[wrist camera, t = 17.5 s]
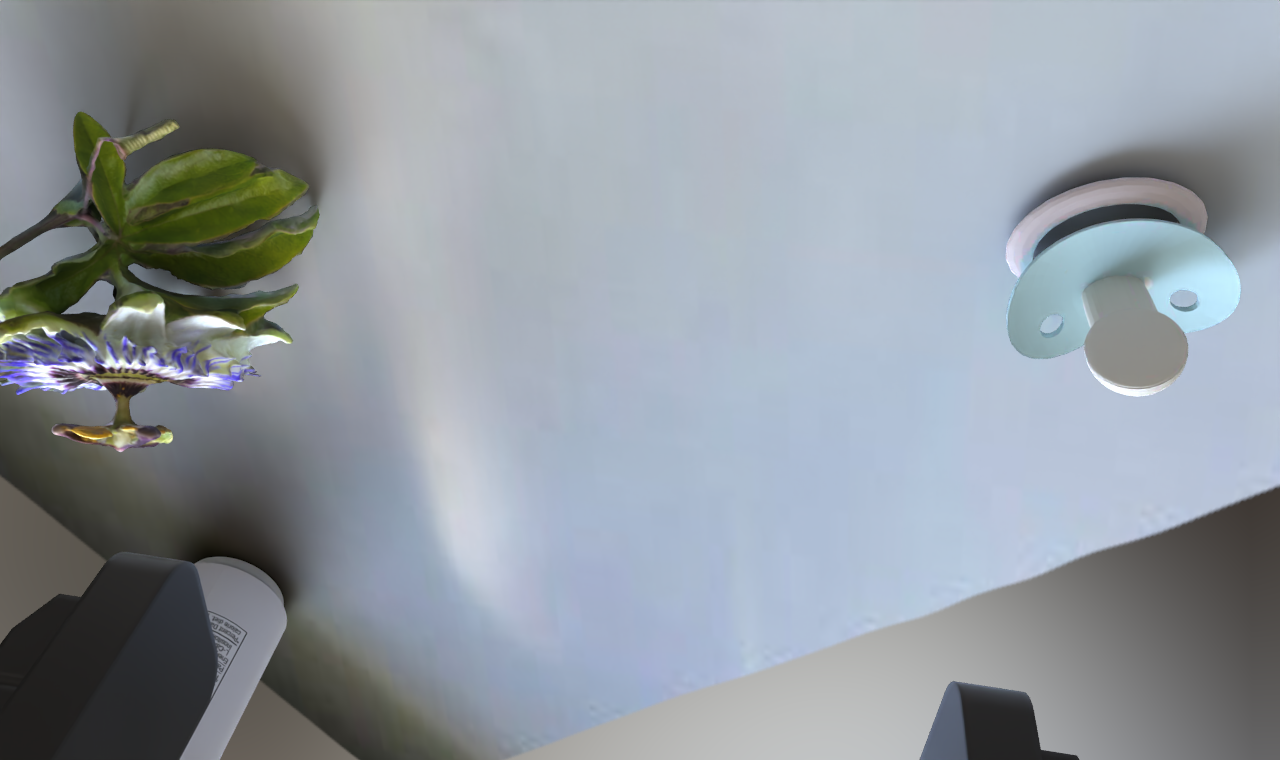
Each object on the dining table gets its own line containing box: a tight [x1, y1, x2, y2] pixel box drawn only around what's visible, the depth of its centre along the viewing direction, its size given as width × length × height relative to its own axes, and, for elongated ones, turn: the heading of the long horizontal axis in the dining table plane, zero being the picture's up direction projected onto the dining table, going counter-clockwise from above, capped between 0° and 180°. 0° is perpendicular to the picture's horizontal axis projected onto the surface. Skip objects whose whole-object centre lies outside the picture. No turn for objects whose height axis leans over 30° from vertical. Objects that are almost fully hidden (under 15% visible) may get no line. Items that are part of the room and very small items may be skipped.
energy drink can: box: [179, 557, 287, 760], centre depth 50 cm, size 6×6×15 cm
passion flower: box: [0, 112, 320, 452], centre depth 40 cm, size 11×11×12 cm
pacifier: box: [1006, 177, 1241, 396], centre depth 36 cm, size 7×6×6 cm
